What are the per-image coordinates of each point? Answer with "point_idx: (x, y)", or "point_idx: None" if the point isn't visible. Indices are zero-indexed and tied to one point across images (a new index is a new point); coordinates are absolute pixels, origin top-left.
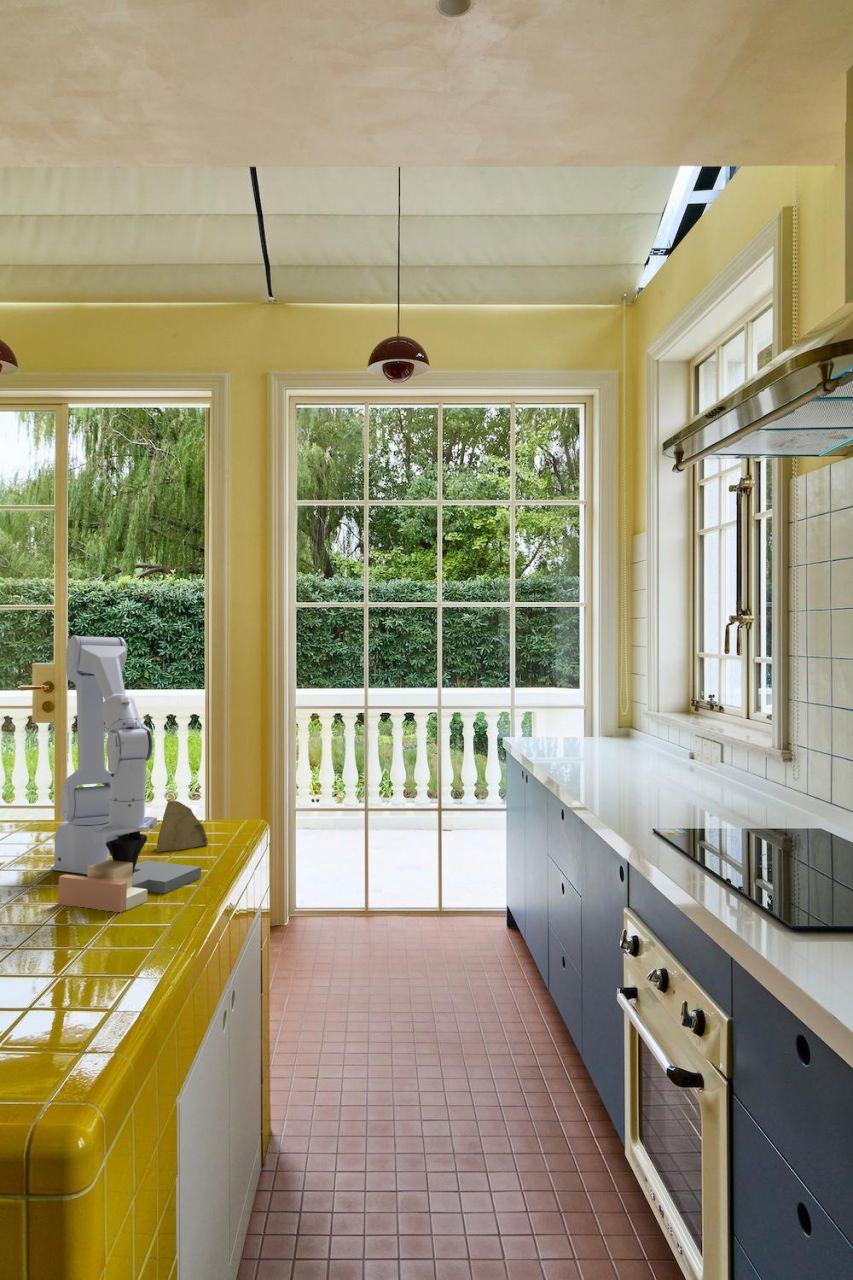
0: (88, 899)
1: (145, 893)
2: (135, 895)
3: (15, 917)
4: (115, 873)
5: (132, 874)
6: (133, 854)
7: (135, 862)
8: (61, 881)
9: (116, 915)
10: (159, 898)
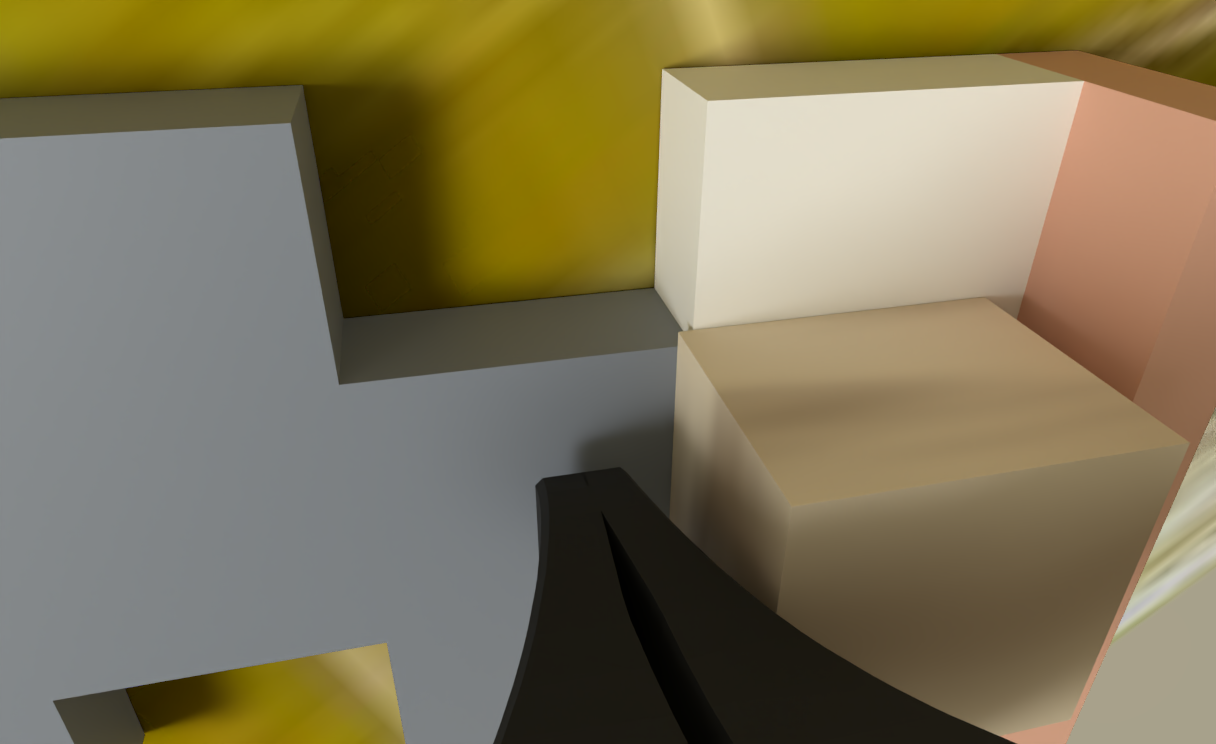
0: None
1: (730, 90)
2: (923, 87)
3: (1188, 570)
4: (1105, 414)
5: (554, 495)
6: (700, 663)
7: (569, 584)
8: None
9: (1130, 38)
10: (501, 15)
